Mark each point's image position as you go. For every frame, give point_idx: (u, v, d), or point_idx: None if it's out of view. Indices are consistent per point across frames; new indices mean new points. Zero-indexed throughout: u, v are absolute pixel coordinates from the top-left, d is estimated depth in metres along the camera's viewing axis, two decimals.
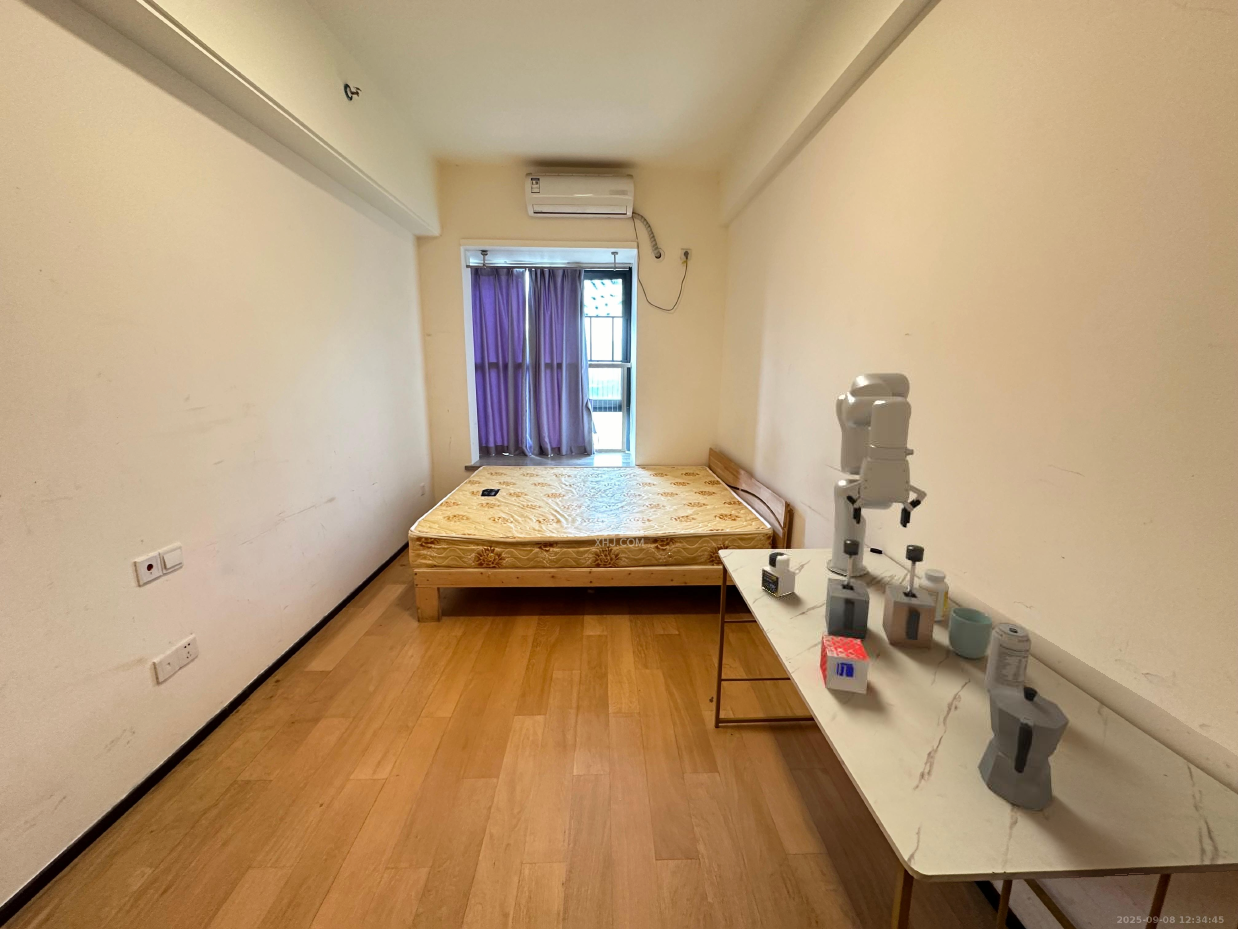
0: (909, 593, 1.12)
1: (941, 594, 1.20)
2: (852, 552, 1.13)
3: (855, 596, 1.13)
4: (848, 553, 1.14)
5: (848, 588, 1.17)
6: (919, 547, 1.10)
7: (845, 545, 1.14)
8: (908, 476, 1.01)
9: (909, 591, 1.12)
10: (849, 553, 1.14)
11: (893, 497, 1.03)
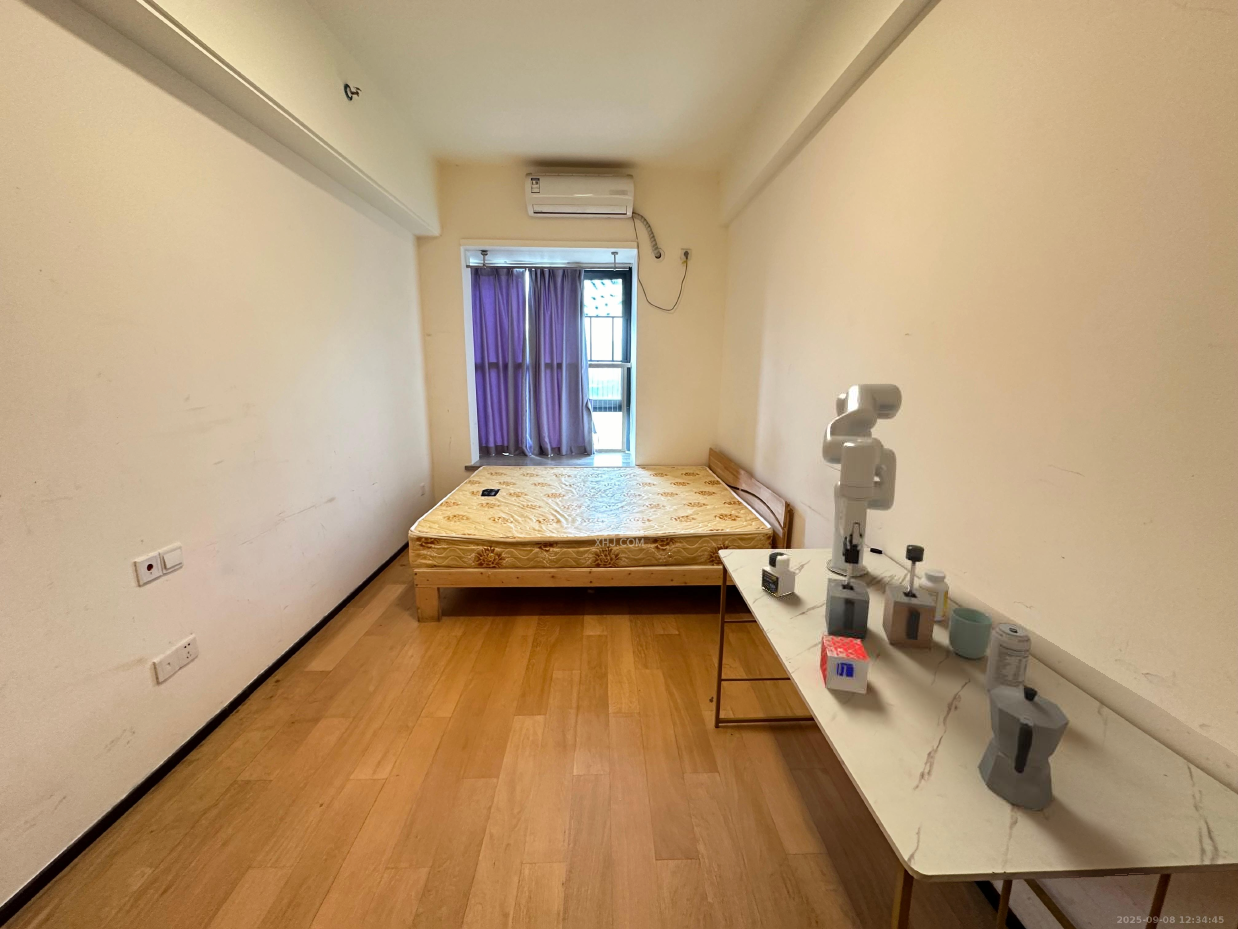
0: (909, 593, 1.12)
1: (941, 594, 1.20)
2: None
3: (855, 596, 1.13)
4: None
5: (848, 588, 1.17)
6: (919, 547, 1.10)
7: (845, 545, 1.14)
8: None
9: (909, 591, 1.12)
10: None
11: None
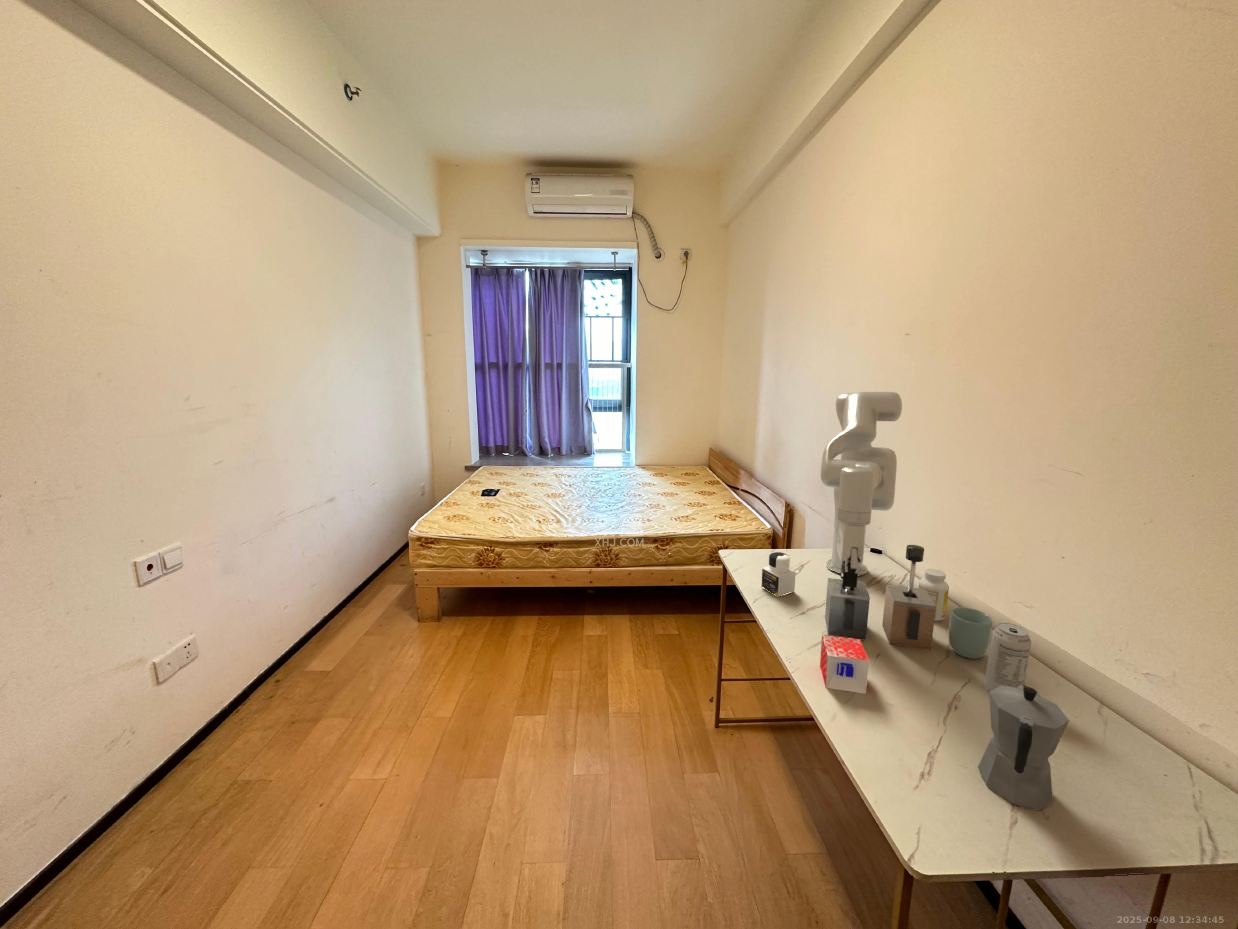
0: (909, 593, 1.12)
1: (941, 594, 1.20)
2: None
3: (855, 596, 1.13)
4: None
5: None
6: (919, 547, 1.10)
7: (843, 568, 1.16)
8: None
9: (909, 591, 1.12)
10: None
11: None
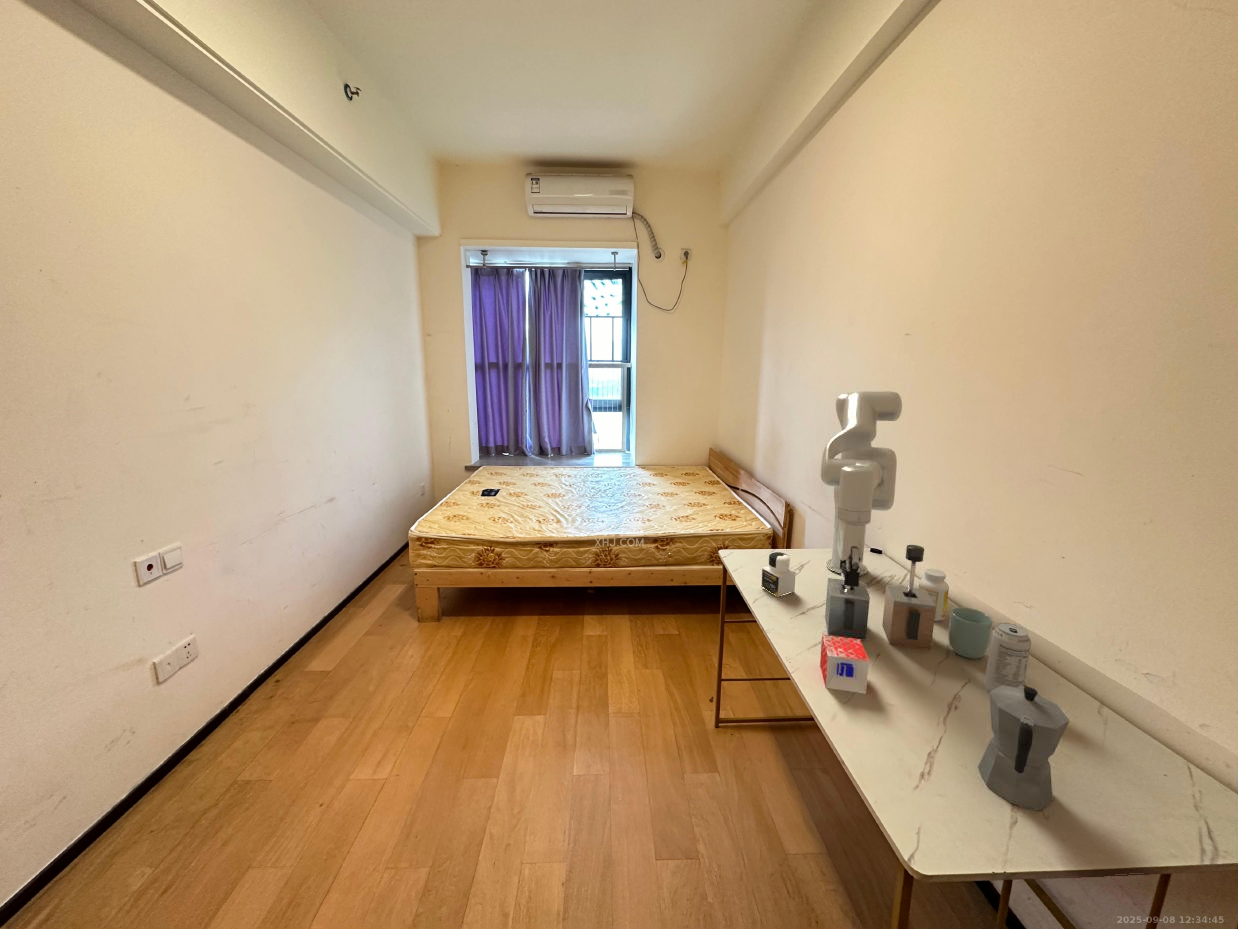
0: (909, 593, 1.12)
1: (941, 594, 1.20)
2: None
3: (855, 596, 1.13)
4: None
5: None
6: (919, 547, 1.10)
7: (843, 568, 1.16)
8: None
9: (909, 591, 1.12)
10: None
11: None
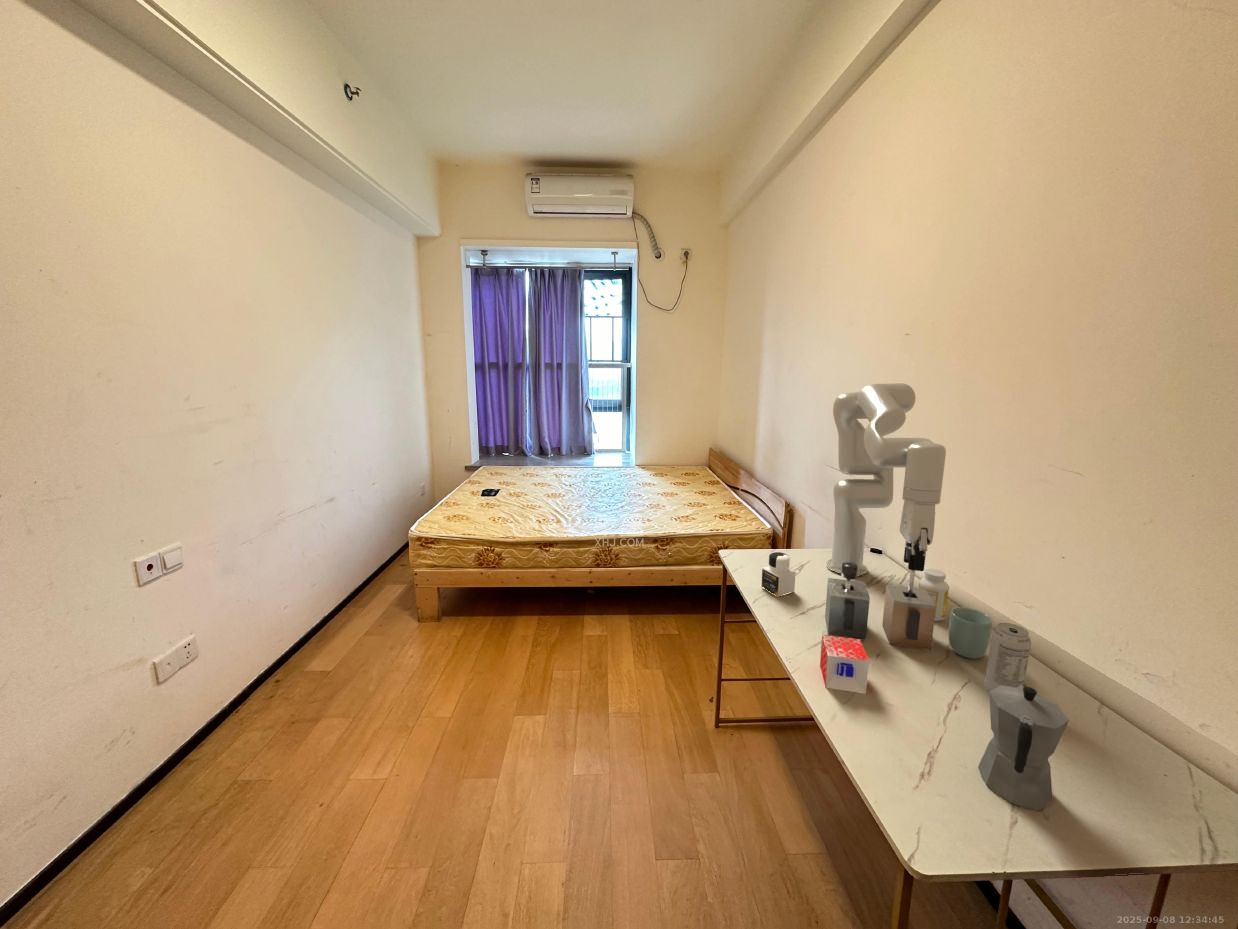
0: (909, 593, 1.12)
1: (941, 594, 1.20)
2: (850, 576, 1.15)
3: (855, 596, 1.13)
4: (846, 577, 1.15)
5: None
6: None
7: (843, 568, 1.16)
8: None
9: (909, 591, 1.12)
10: (847, 577, 1.15)
11: None
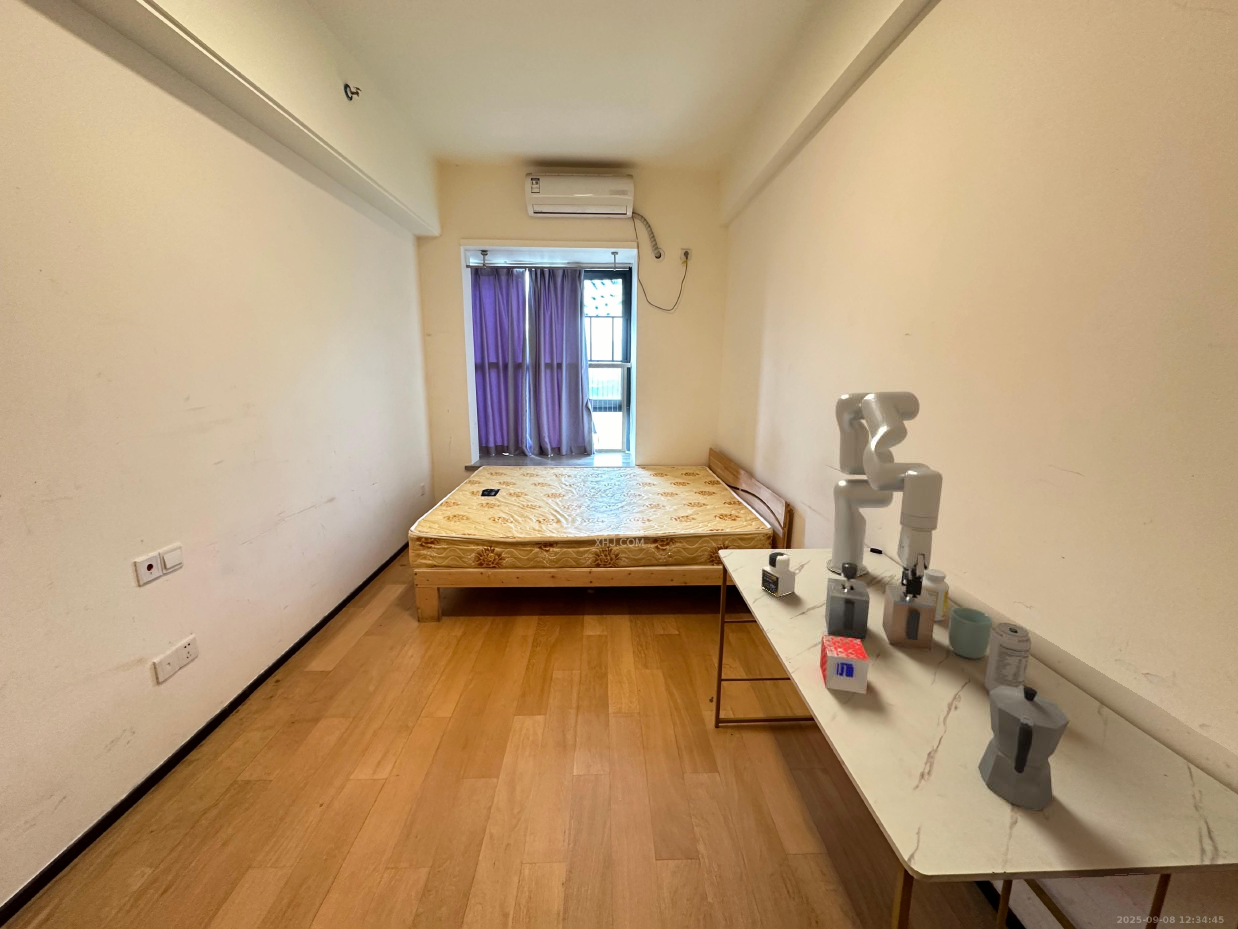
0: None
1: (941, 594, 1.20)
2: (850, 576, 1.15)
3: (855, 596, 1.13)
4: (846, 577, 1.15)
5: None
6: None
7: (843, 568, 1.16)
8: None
9: None
10: (847, 577, 1.15)
11: None
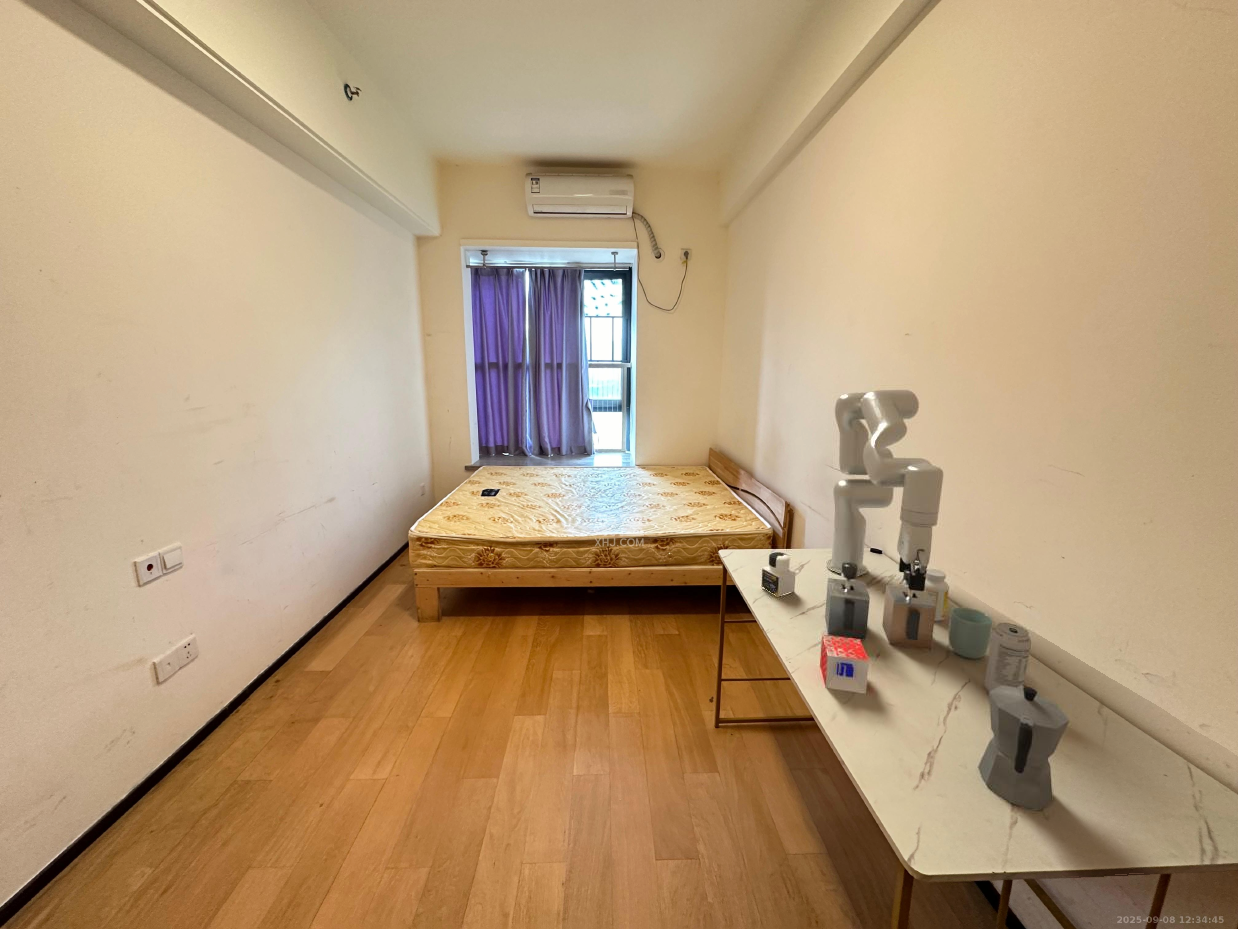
0: None
1: (941, 594, 1.20)
2: (850, 576, 1.15)
3: (855, 596, 1.13)
4: (846, 577, 1.15)
5: None
6: None
7: (843, 568, 1.16)
8: None
9: None
10: (847, 577, 1.15)
11: None
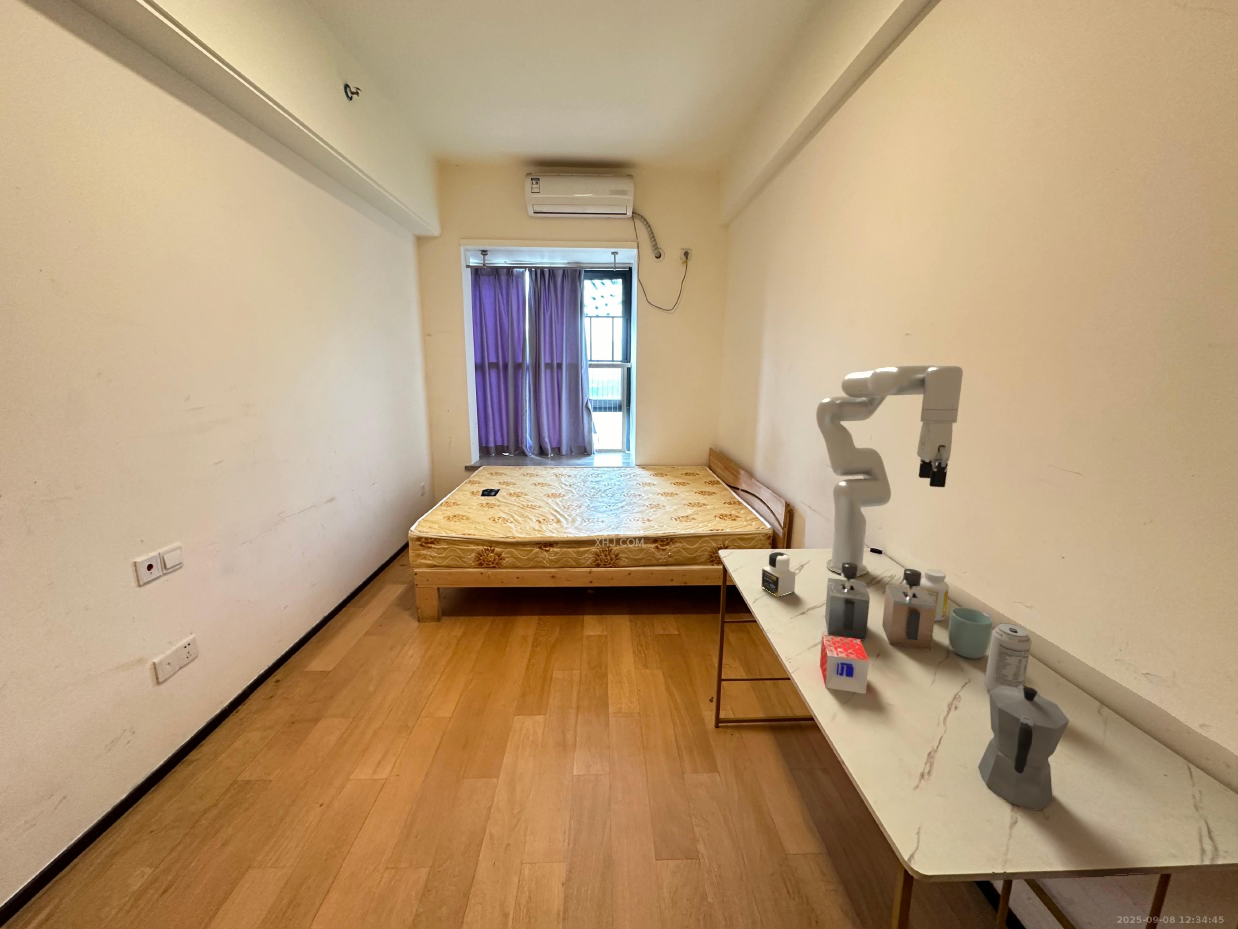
0: None
1: (941, 594, 1.20)
2: (850, 576, 1.15)
3: (855, 596, 1.13)
4: (846, 577, 1.15)
5: None
6: (916, 571, 1.11)
7: (843, 568, 1.16)
8: None
9: None
10: (847, 577, 1.15)
11: None
